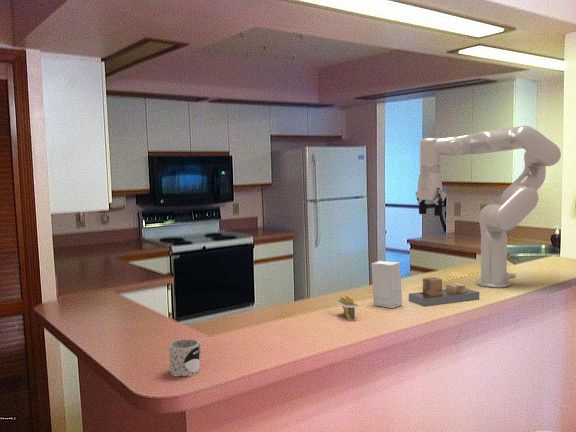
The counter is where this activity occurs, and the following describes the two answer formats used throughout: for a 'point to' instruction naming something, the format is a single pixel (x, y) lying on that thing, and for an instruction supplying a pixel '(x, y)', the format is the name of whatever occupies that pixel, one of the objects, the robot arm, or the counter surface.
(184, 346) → the mug
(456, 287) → the seated oak block
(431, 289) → the walnut block
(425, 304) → the grey flat frame
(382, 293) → the skincare box
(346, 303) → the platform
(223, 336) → the counter surface
